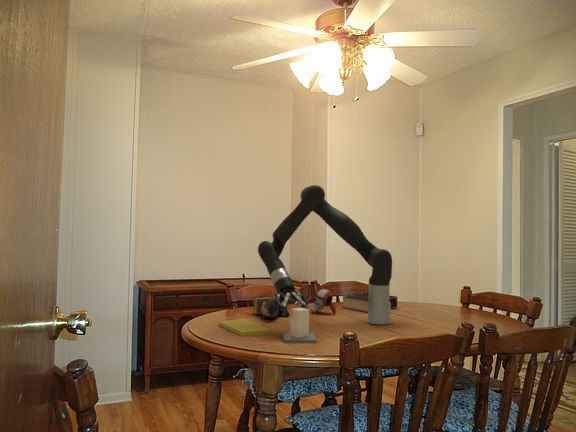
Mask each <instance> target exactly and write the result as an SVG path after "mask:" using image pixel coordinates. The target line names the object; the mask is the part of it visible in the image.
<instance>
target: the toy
mask: <svg viewBox="0 0 576 432" xmlns="http://www.w3.org/2000/svg"><path fill="white" fill-rule="evenodd" d="M333 297H334V295H333V292H331V291H330V290H329V289H325V288H323V289H320V290H319V291H318V292H317V293H316V296H315V297H312V298H309V299H308V301H309V303H308V304H309V305H310V306H311V310H312V312H313V314H317V313H318V312H319V311H321V310H323V309H324V308H325V307H329V309H330V310H331V311H332V314H333V316H336V305H335V304H334V302H333Z"/></svg>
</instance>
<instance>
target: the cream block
mask: <svg viewBox="0 0 576 432" xmlns="http://www.w3.org/2000/svg"><path fill="white" fill-rule="evenodd" d="M289 327H290V330H289V332H290V335H291V336H294V337H297V338H301V337H308V336H309V332H310V309H308V308H307V309H305V308H301V307H294V308H290V325H289Z"/></svg>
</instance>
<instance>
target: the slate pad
mask: <svg viewBox="0 0 576 432" xmlns="http://www.w3.org/2000/svg"><path fill="white" fill-rule="evenodd" d="M282 337H283V343H300V344H301V343H304V344H305V343H307V344H309V343H314V344H317V341H318V339H317V337H316V335H315V332H313V331H312V332H311V331H309V336H308V337H301V338H297V337H294V336H291V335H290V331H282Z"/></svg>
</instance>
